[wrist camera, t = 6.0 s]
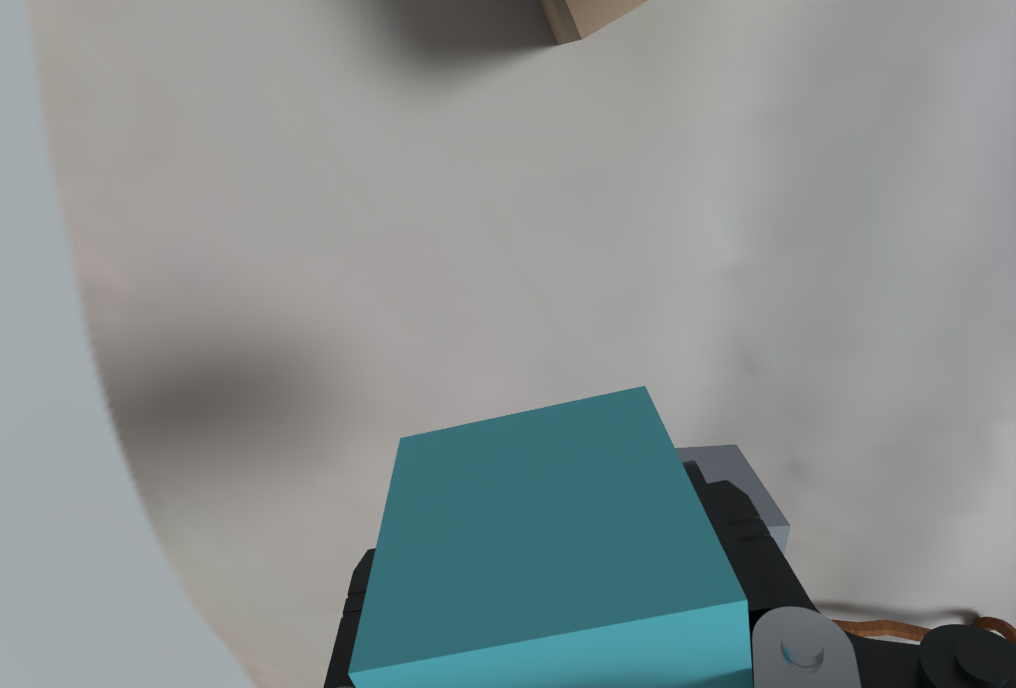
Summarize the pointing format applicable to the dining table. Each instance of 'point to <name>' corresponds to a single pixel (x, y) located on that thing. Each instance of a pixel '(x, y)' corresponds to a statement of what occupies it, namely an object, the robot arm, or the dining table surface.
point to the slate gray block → (739, 483)
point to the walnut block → (582, 16)
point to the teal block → (550, 560)
